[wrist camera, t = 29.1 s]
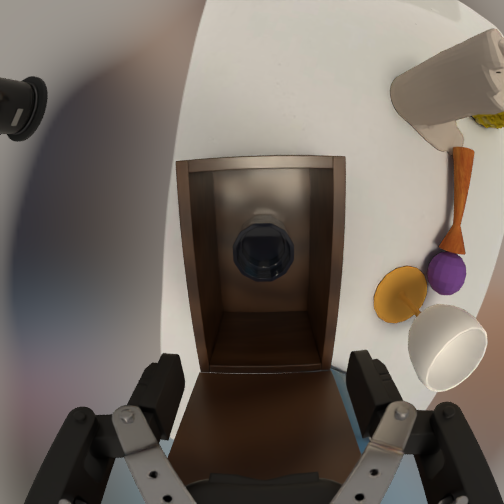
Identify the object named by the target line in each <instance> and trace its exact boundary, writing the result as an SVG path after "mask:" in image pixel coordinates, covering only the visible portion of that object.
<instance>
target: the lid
mask: <svg viewBox="0 0 504 504" xmlns="http://www.w3.org/2000/svg"><path fill="white" fill-rule="evenodd" d="M360 456H361V452H360V449H359V446H358V443H357V440H356V437H355V434H354V432H353V429H352V426H351V423H350V420H349V417H348V415H347V412H346V409H345V406H344V403H343V401H342V398H341V395H340V392H339V390H338V387H337V384H336V381H335V379H334V376H333V373H332V371H331V370H328V371H316V372H299V373H273V374H229V373H203V372H200V373H199V375H198V378H197V380H196V383H195V386H194V388H193V391H192V394H191V396H190V399H189V402H188V404H187V407H186V410H185V412H184V415H183V418H182V420H181V423H180V426H179V429H178V431H177V434H176V437H175V439H174V442H173V445H172V447H171V450H170V453H169V455H168V458H167V459H168V460H169V462H170V464H171V465H172V467H173V468H174V470H175V472H176V473H177V475H178V476H179V478H180V480H181V481H182V483H183V484H184V486H186V485H188V484H191V483H193V482H196V481H199V480H204V479H209V476H210V473H222V474H237V475H241V476H246V477H250V478H255V479H259V480H268V479H273V478H277V477H281V476H285V475H289V474H295V473H308V472H318V473H319V478H325V479H330V480H333V481H336V482H339V483H341V484H343V483H344V482H345V480H346V479H347V477H348V476H349V474H350V473H351V471H352V470H353V468H354V466H355V465H356V463H357V461H358V460H359V458H360Z"/></svg>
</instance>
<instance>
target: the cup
mask: <svg viewBox="0 0 504 504" xmlns="http://www.w3.org/2000/svg"><path fill="white" fill-rule="evenodd" d="M426 295H427V282H426V279H425V276H424V274H423V273H422V272H421V271H420V270H418V269H417V268H415V267H410V266H404V267H400V268H396V269H395V270H393V271H392V272H390V273H389V274H387V275H386V276H385V277H384V279H383V280H382V281H381V282H380V284H379V285H378V287H377V290H376V293H375V295H374V309H375V311H376V313H377V315H378V317H379V318H381V319H382V320H384V321H385V322H389V323H398V322H402V321H405V320H407V319H408V318H410V317H411V316H413V315H415V316H416V317H417V318H416V319H415V320H414V321H413V323H412V325H411V328H410V330H409V337H408V351H409V355H410V359H411V362H412V364H413V367H414V369H415V371H416V374H417V376H418V378H419V380H420V381H421V382H422V383H423V384H424V385H425V386H426V387H427V388H428V389H430V390H432V391H433V392H441V391H446V390H449V389H451V388H453V387H455V386H457V385H458V384H460V383H461V382H462V381H464V380H465V379H466V378H468V377H469V375H470V374H471V373H472V372H473V371H474V370H475V369H476V368H477V366H478V364H479V363H480V361H481V359H482V358H483V356H484V353H485V350H486V346H487V333H486V332H485V330H484V329H483V327H482V326H481V324H480V323H479V322H478V321H477V320H476V319H475V317H474V316H472V315H471V314H469V313H468V312H467V311H465V310H464V309H461V308H458V307H455V306H451V305H443V304H436V305H433V306H430V307H428V308H426V309H425V310H424V311H422V312H420V311H419V308H420V307H421V306H422V305H423V302H424V300H425V297H426Z"/></svg>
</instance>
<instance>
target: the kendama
mask: <svg viewBox="0 0 504 504" xmlns="http://www.w3.org/2000/svg"><path fill="white" fill-rule="evenodd" d="M473 159H474V151H473V150H471V149H469V148H465V147H453V160H454V218H453V225H452V227H451V228H450V230H449V231H448V233H447V235H446V236H445V238H444V239H443V241H442V242H441V244H440V245H439V248H441V249H443V250H445V252H440V253H439V254H438V255H436V256H435V257H434V258H433V259H432V261H431V262H430V264H429V267H428V271H427V276H428V281H429V283H430V285H431V287H432V289H433V290H434V291H436V292H437V293H439V294H441V295H452V294H454V293H455V292H457V291H459V290H460V288H461V287H462V285H463V284H464V281H465V277H466V266H465V264H464V262H463V260H462V258H461V257H460V256H458V255H457V254H465V248H464V242H463V237H462V232H461V227H460V225H461V221H462V217H463V212H464V208H465V204H466V199H467V194H468V189H469V184H470V178H471V172H472V166H473Z"/></svg>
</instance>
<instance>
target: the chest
mask: <svg viewBox="0 0 504 504" xmlns="http://www.w3.org/2000/svg"><path fill="white" fill-rule="evenodd" d="M176 176H177V191H178V204H179V216H180V227H181V238H182V247H183V257H184V265H185V274H186V281H187V289H188V297H189V304H190V311H191V317H192V324H193V330H194V336H195V342H196V348H197V354H198V359H199V365H200V370H201V372H207V373H210V372H211V373H293V372H311V371H320V370H321V371H327V370H330V368H331V362H332V355H333V348H334V341H335V334H336V326H337V318H338V309H339V299H340V289H341V278H342V265H343V250H344V230H345V196H346V161H345V156H316V155H270V156H240V157H222V158H207V159H195V160H184V161H176ZM257 215H270V216H272V217H274V218H276V219H278V220H280V221H282V222H283V223H284V225H285V226H286V228H287V230H288V231H289V233H290V235H291V238H292V240H293V243H294V261H293V263H292V265H291V266H290V268H289V270H288V271H287V273H286V274H285V275H283V276H281V277H279V278H277V279H276V280H274V281H271V282H256V281H254V280H252V279H250V278H248V277H246V276H244V275H242V274H241V272H240V271H239V269H238V268H237V266H236V265H235V263H234V262H233V244H234V241H235V238H236V235H237V233H238V232H239V230H240V228H241V226H242V224H243V223H244V222H246V221H247V220H249V219H251V218H252V217H254V216H257Z"/></svg>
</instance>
